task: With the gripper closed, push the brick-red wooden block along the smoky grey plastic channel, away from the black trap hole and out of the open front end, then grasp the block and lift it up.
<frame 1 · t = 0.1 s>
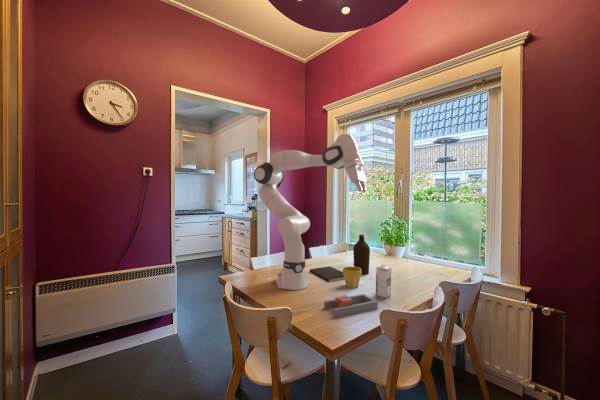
hand: (362, 191, 122), 52 cm above the table, tool tilted 20°, fingers open, 8 cm apart
plant pot: (351, 286, 139), on the table
olive oil: (361, 272, 164), on the table
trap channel: (345, 311, 107), on the table
syrup box: (383, 295, 126), on the table
red block: (343, 309, 107), point 1 cm above the table, touching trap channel
hardcover book: (329, 276, 159), on the table
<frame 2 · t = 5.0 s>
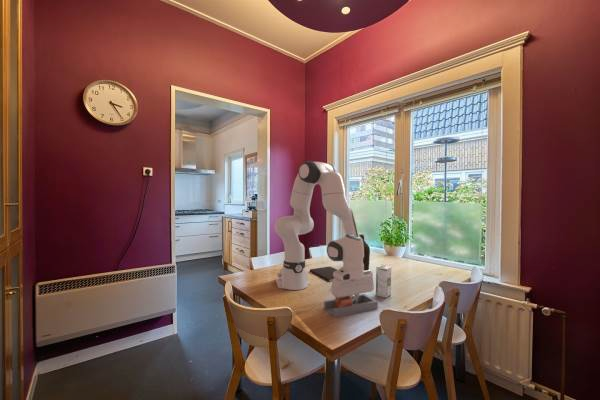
hand: (353, 304, 109), 3 cm above the table, tool pointing down, fingers closed
red block: (343, 309, 107), point 1 cm above the table, touching gripper, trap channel
everything else where it was.
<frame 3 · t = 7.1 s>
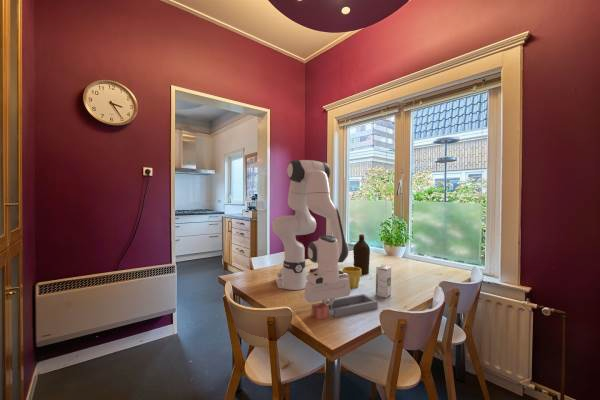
hand: (328, 308, 104), 3 cm above the table, tool pointing down, fingers closed
red block: (325, 310, 102), point 3 cm above the table, tilted 90°, touching gripper
everything else where it was.
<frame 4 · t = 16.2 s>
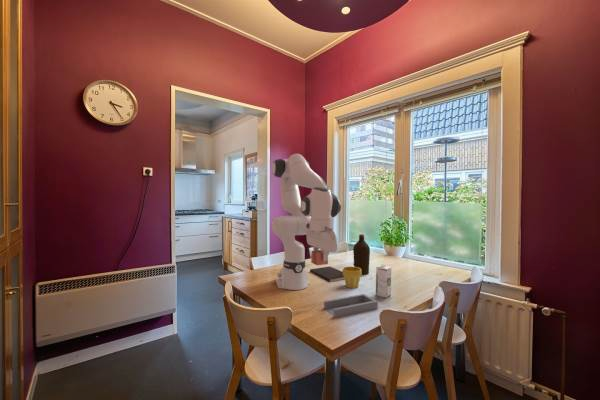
hand: (320, 259, 105), 23 cm above the table, tool pointing down, fingers closed on red block, 5 cm apart
red block: (324, 256, 105), point 24 cm above the table, tilted 90°, touching gripper
everything else where it was.
at the end: the gripper is holding red block; red block point 23.9 cm above the table; red block inside the target area (4.9 cm from its centre), point 23.9 cm above the table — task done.
